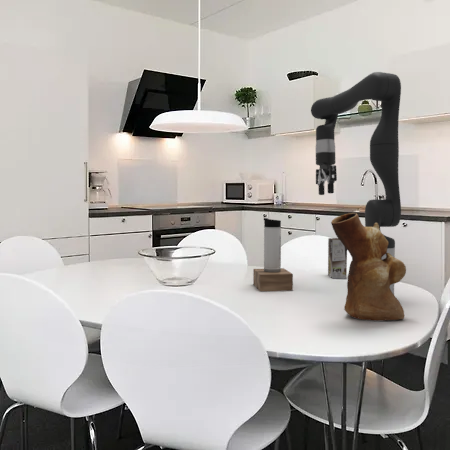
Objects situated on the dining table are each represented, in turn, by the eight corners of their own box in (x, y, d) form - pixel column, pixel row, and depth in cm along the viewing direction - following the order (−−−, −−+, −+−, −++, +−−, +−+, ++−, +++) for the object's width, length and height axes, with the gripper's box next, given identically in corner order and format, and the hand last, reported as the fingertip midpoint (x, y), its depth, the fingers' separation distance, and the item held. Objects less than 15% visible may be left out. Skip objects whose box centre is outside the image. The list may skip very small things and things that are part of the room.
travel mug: (260, 270, 195) (260, 217, 194) (275, 269, 198) (275, 217, 197) (268, 273, 190) (268, 218, 188) (283, 271, 192) (284, 218, 191)
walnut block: (292, 290, 188) (292, 274, 187) (260, 291, 186) (260, 274, 186) (283, 283, 202) (283, 268, 201) (253, 284, 200) (253, 268, 200)
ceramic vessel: (415, 322, 143) (418, 213, 141) (342, 326, 138) (343, 214, 136) (386, 309, 158) (388, 211, 156) (319, 312, 154) (320, 212, 152)
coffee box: (347, 278, 213) (347, 239, 212) (331, 278, 213) (332, 239, 212) (342, 275, 222) (343, 237, 221) (327, 275, 222) (328, 237, 221)
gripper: (309, 154, 207) (309, 195, 206) (323, 149, 193) (324, 192, 192) (326, 155, 208) (327, 195, 208) (342, 149, 194) (343, 192, 194)
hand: (326, 194), depth 200 cm, fingers open, 8 cm apart
